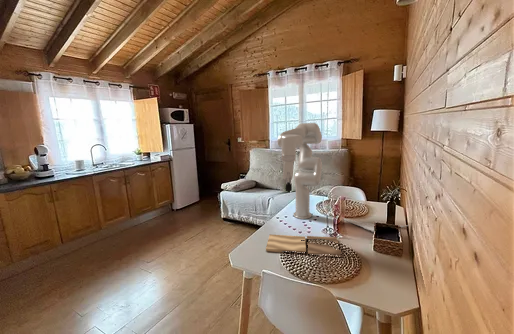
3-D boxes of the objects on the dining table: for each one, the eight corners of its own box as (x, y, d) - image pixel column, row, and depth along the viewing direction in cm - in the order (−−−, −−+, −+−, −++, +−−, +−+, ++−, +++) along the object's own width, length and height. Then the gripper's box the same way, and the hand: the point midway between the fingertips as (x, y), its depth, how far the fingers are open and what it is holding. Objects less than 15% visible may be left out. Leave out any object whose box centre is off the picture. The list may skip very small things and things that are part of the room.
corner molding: (337, 219, 164) (373, 233, 136) (337, 216, 164) (373, 230, 136) (370, 215, 175) (409, 228, 147) (370, 213, 175) (409, 225, 147)
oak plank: (269, 236, 137) (269, 234, 137) (305, 239, 134) (305, 236, 133) (265, 251, 122) (265, 248, 121) (305, 254, 118) (305, 251, 118)
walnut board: (306, 238, 135) (306, 235, 134) (336, 239, 132) (336, 237, 131) (307, 255, 117) (308, 252, 117) (342, 257, 114) (342, 254, 114)
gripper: (282, 156, 138) (283, 187, 141) (280, 160, 124) (281, 194, 127) (295, 156, 137) (295, 187, 140) (295, 160, 123) (295, 194, 126)
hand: (288, 190), depth 134 cm, fingers closed
